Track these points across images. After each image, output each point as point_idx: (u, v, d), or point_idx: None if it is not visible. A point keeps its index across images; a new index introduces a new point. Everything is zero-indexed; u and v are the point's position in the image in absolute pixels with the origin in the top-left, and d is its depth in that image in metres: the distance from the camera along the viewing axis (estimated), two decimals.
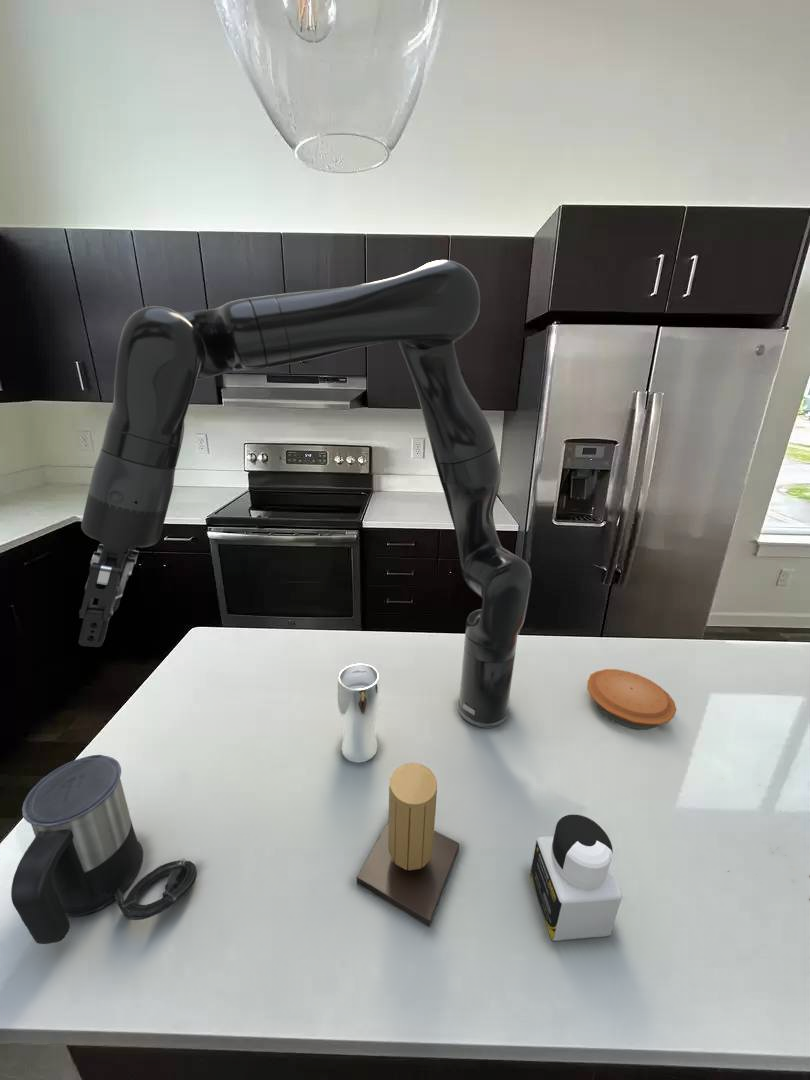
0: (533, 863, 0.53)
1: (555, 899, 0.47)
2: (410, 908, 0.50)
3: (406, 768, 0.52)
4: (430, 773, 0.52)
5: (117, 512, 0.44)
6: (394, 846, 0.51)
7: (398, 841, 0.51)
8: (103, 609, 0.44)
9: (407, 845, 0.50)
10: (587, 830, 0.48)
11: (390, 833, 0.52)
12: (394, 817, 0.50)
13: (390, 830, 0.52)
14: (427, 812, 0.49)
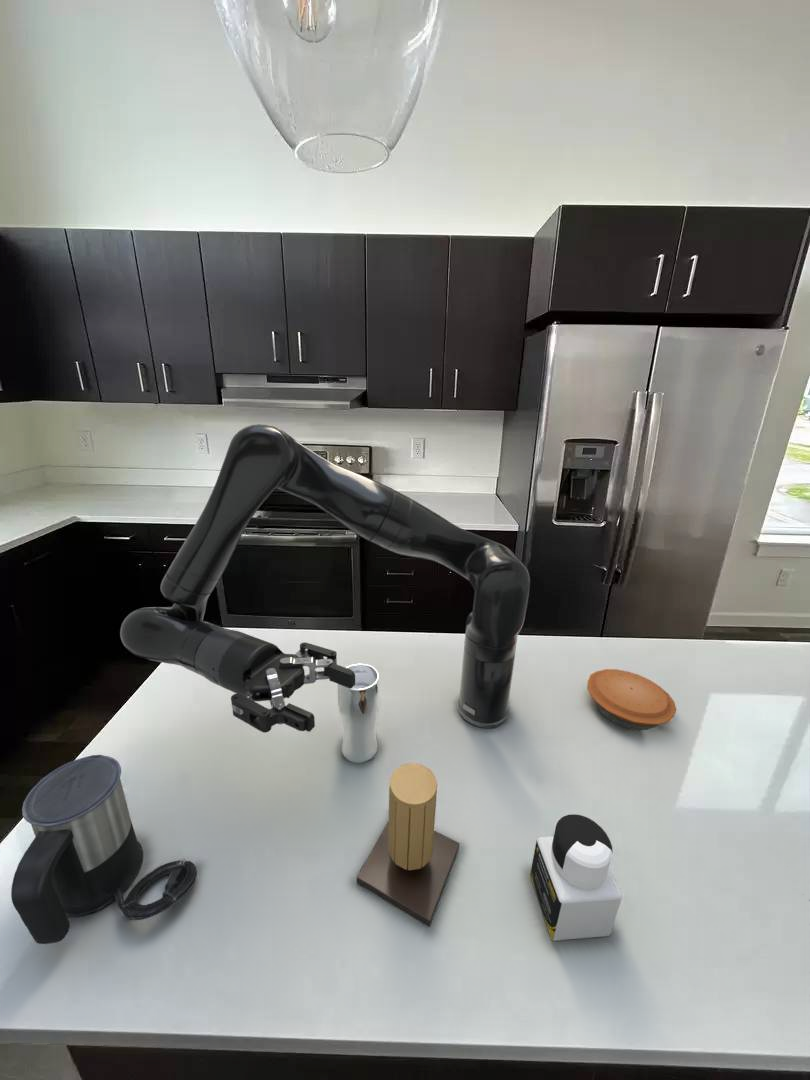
0: (533, 863, 0.53)
1: (555, 899, 0.47)
2: (410, 908, 0.50)
3: (406, 768, 0.52)
4: (430, 773, 0.52)
5: (222, 681, 0.56)
6: (394, 846, 0.51)
7: (398, 841, 0.51)
8: None
9: (407, 845, 0.50)
10: (587, 830, 0.48)
11: (390, 833, 0.52)
12: (394, 817, 0.50)
13: (390, 830, 0.52)
14: (427, 812, 0.49)
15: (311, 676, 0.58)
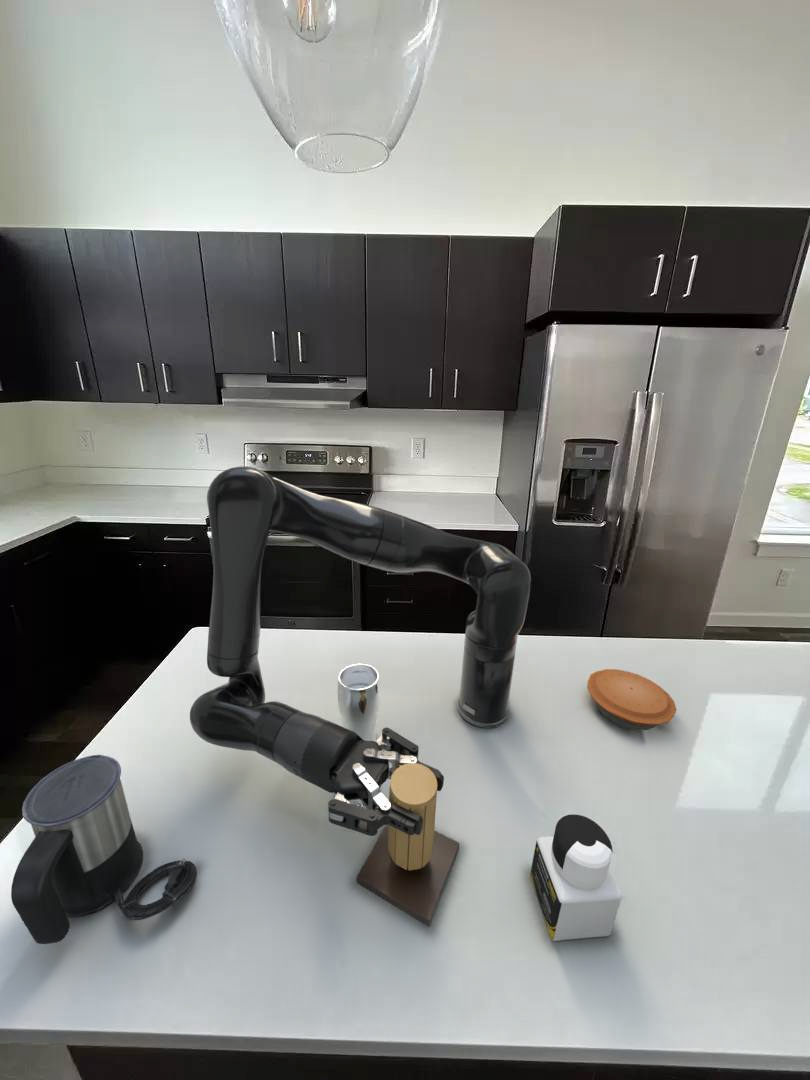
0: (533, 863, 0.53)
1: (555, 899, 0.47)
2: (410, 908, 0.50)
3: (407, 768, 0.52)
4: (430, 773, 0.52)
5: (304, 775, 0.54)
6: (394, 846, 0.51)
7: (398, 841, 0.51)
8: None
9: (407, 845, 0.50)
10: (587, 831, 0.48)
11: (390, 833, 0.52)
12: None
13: (390, 830, 0.52)
14: (427, 812, 0.49)
15: None
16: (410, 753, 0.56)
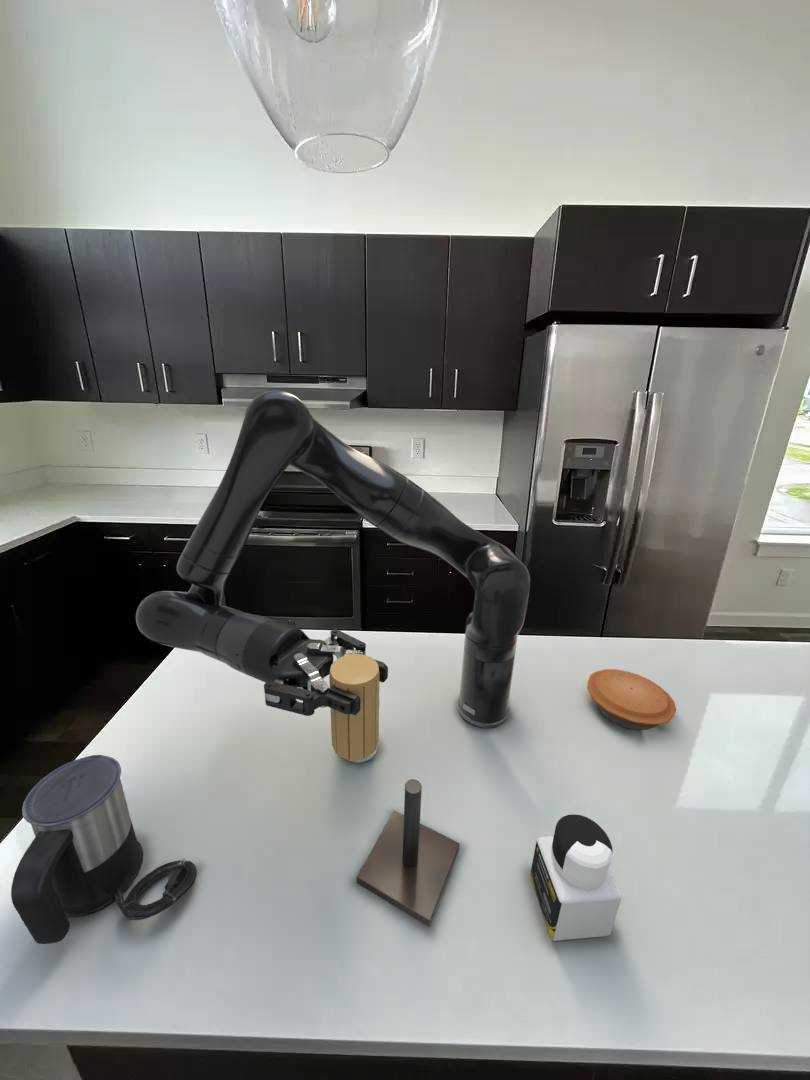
0: (533, 863, 0.53)
1: (555, 899, 0.47)
2: (410, 908, 0.50)
3: (349, 657, 0.51)
4: (373, 661, 0.50)
5: (246, 668, 0.52)
6: (335, 735, 0.50)
7: (339, 729, 0.49)
8: None
9: (347, 732, 0.49)
10: (587, 830, 0.48)
11: (332, 723, 0.51)
12: None
13: (332, 720, 0.50)
14: (366, 695, 0.48)
15: None
16: (357, 649, 0.55)
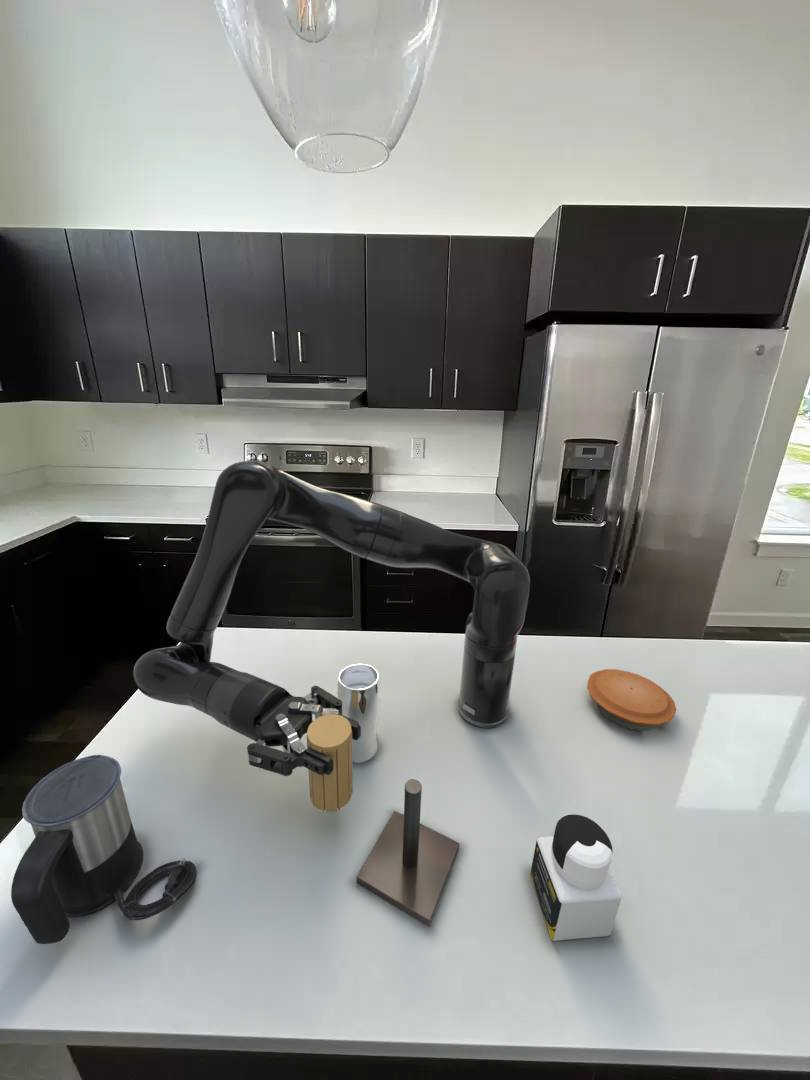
0: (533, 863, 0.53)
1: (555, 899, 0.47)
2: (410, 908, 0.50)
3: (326, 718, 0.56)
4: (346, 722, 0.56)
5: (232, 725, 0.58)
6: (312, 789, 0.56)
7: (315, 784, 0.55)
8: None
9: (322, 787, 0.54)
10: (587, 831, 0.48)
11: (309, 778, 0.56)
12: None
13: (309, 775, 0.56)
14: (339, 756, 0.53)
15: None
16: (334, 707, 0.60)
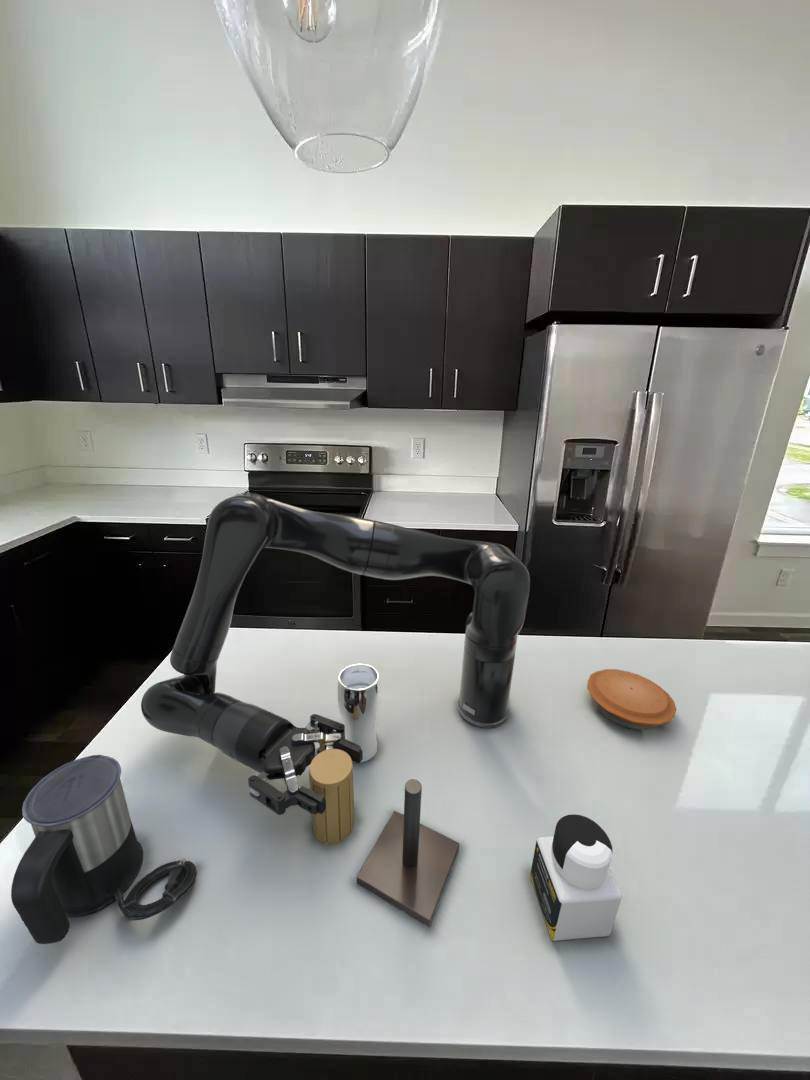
0: (533, 863, 0.53)
1: (555, 899, 0.47)
2: (410, 908, 0.50)
3: (327, 753, 0.58)
4: (348, 757, 0.58)
5: (238, 758, 0.60)
6: (315, 822, 0.58)
7: (317, 818, 0.57)
8: None
9: (325, 821, 0.56)
10: (587, 830, 0.48)
11: None
12: None
13: None
14: (341, 791, 0.55)
15: (321, 751, 0.61)
16: (337, 732, 0.63)
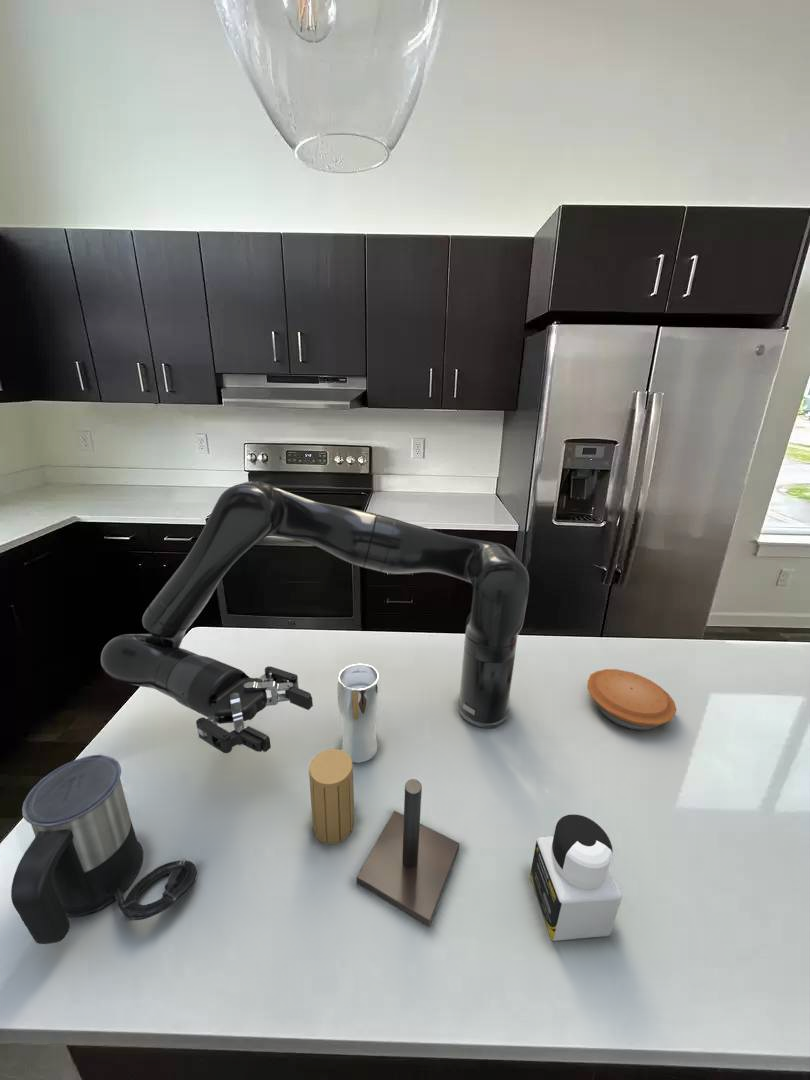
0: (533, 863, 0.53)
1: (555, 899, 0.47)
2: (410, 908, 0.50)
3: (327, 753, 0.58)
4: (348, 757, 0.58)
5: (191, 705, 0.61)
6: (315, 822, 0.58)
7: (317, 818, 0.57)
8: None
9: (325, 821, 0.56)
10: (587, 831, 0.48)
11: (312, 811, 0.58)
12: (312, 796, 0.56)
13: (312, 808, 0.58)
14: (341, 791, 0.55)
15: (273, 699, 0.63)
16: (290, 681, 0.65)
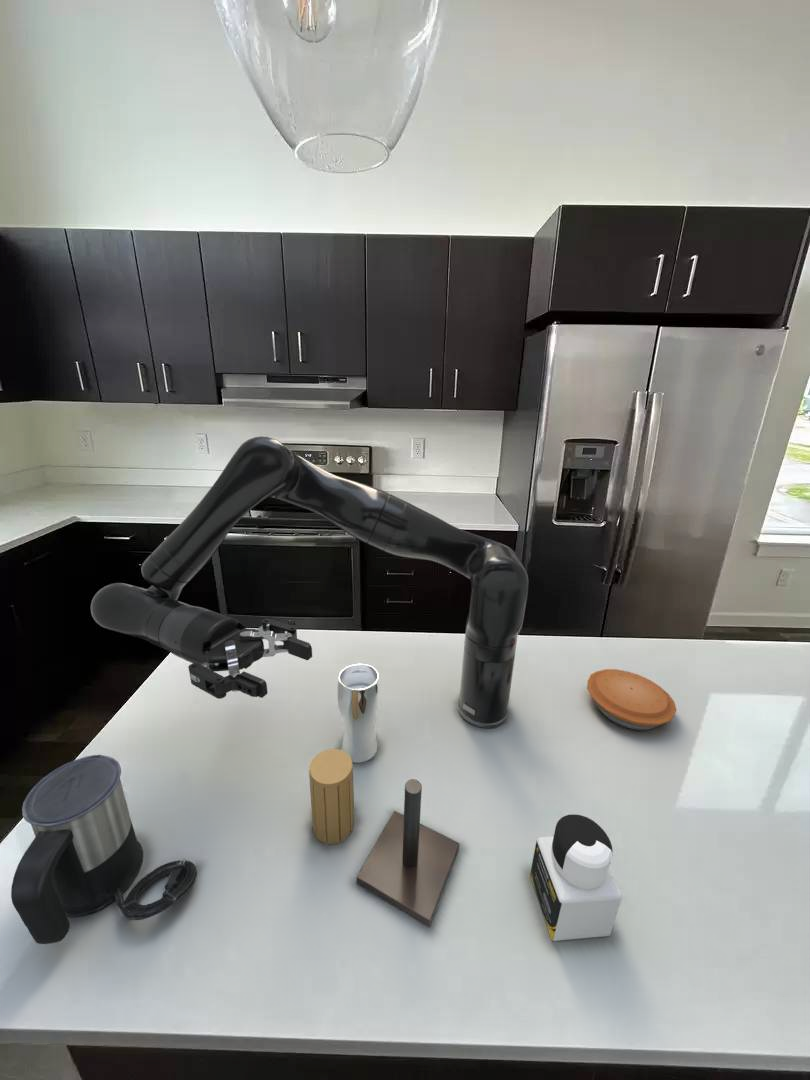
0: (533, 863, 0.53)
1: (555, 899, 0.47)
2: (410, 908, 0.50)
3: (327, 753, 0.58)
4: (348, 757, 0.58)
5: (184, 654, 0.58)
6: (315, 822, 0.58)
7: (317, 818, 0.57)
8: None
9: (325, 821, 0.56)
10: (587, 830, 0.48)
11: (312, 811, 0.58)
12: (312, 796, 0.56)
13: (312, 808, 0.58)
14: (341, 791, 0.55)
15: (270, 649, 0.60)
16: (289, 632, 0.62)
